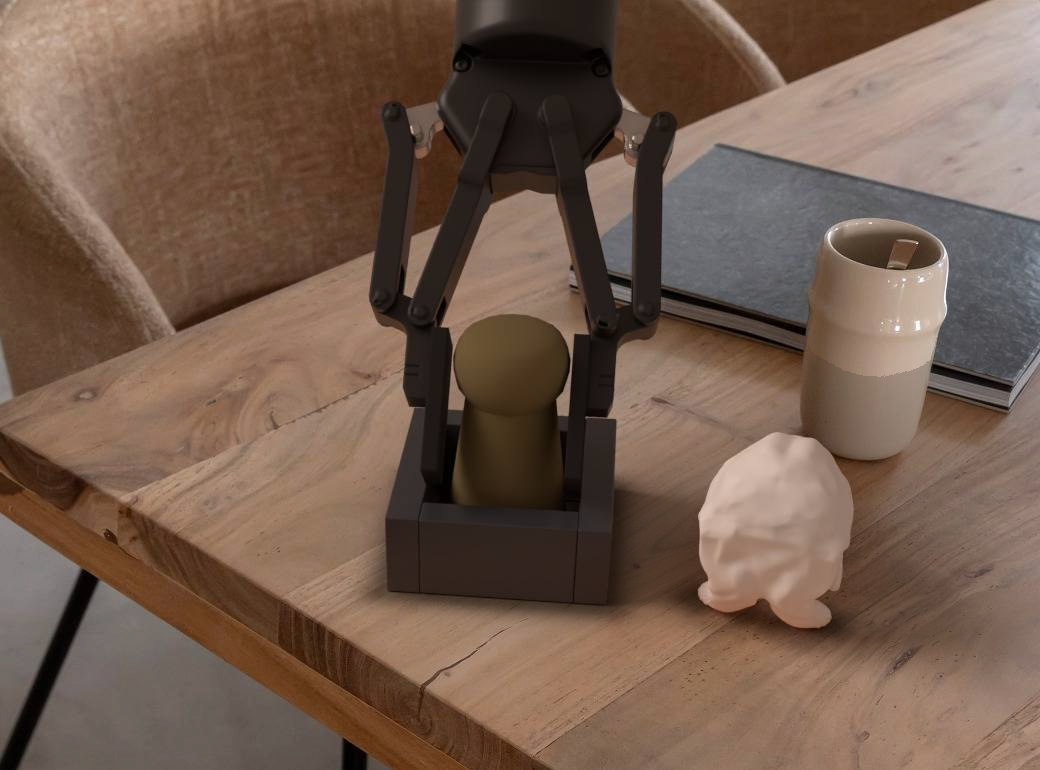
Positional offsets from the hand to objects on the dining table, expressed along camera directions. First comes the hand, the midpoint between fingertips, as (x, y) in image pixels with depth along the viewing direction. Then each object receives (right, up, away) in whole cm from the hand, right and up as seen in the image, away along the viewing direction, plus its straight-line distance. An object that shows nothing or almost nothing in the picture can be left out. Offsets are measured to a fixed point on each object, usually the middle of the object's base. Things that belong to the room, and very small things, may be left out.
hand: (501, 481), depth 65 cm
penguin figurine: (+13, -4, +3) cm, 14 cm away
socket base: (0, -2, +6) cm, 6 cm away
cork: (+1, -2, +6) cm, 6 cm away
